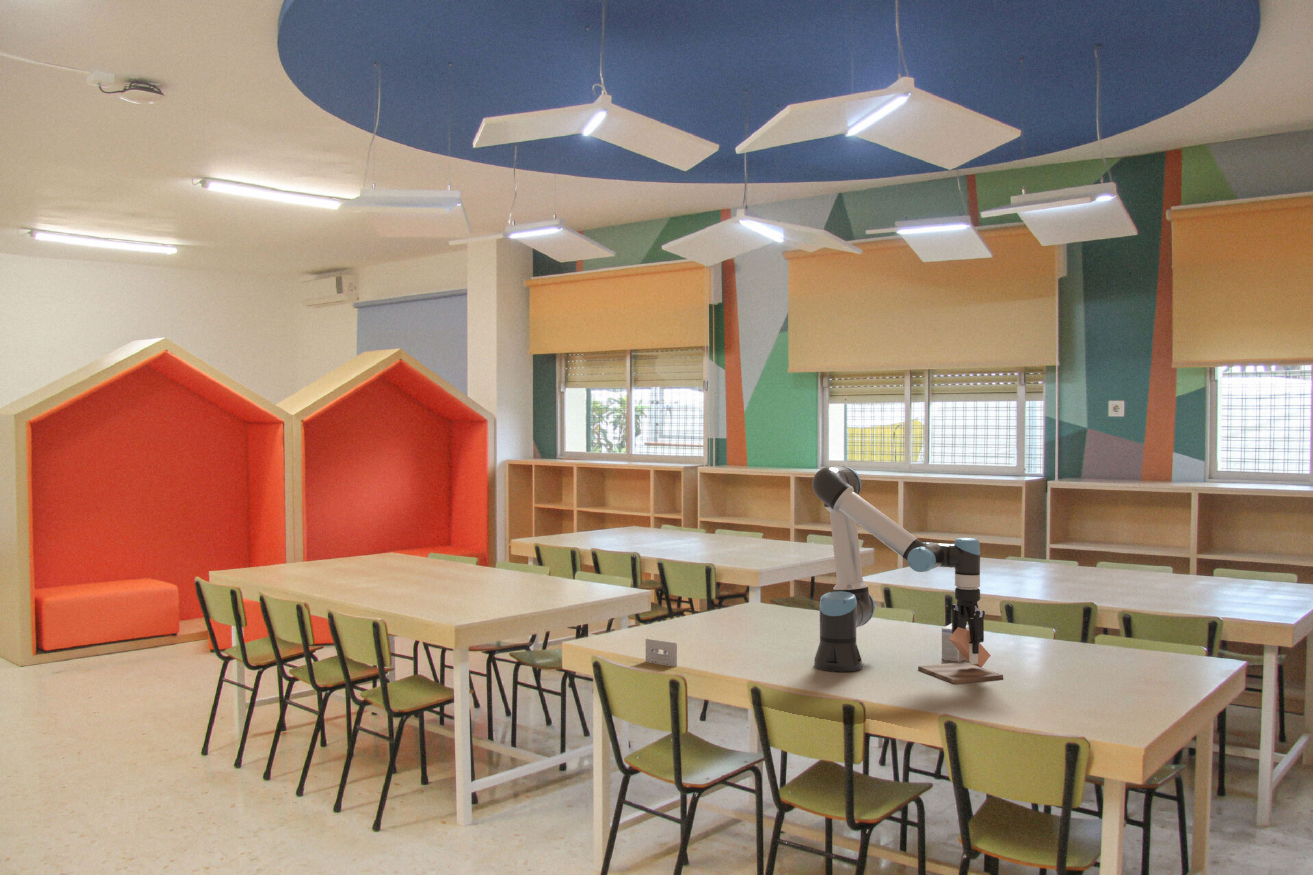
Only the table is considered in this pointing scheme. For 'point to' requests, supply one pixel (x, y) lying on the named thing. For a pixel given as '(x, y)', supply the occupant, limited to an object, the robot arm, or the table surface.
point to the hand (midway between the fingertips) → (967, 661)
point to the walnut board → (960, 672)
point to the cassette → (661, 658)
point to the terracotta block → (962, 644)
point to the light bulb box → (949, 644)
